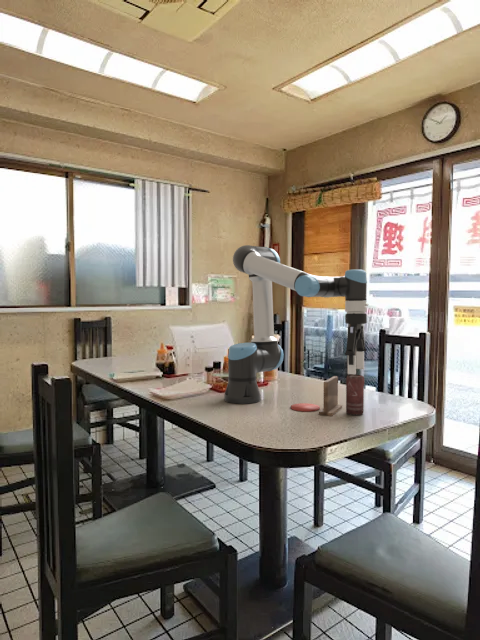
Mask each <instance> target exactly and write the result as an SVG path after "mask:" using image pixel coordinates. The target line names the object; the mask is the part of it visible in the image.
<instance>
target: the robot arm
mask: <svg viewBox="0 0 480 640" xmlns="http://www.w3.org/2000/svg"><path fill="white" fill-rule="evenodd" d="M232 262H233V265H234V268H235V269H236V270H237V271H238V272H241V273H243V274H247V275H248V280H250V281H251V283H252V307H253V332H254V333H253V334H254V337H253V338H252V339H251V341H250V342H243V343H242V342H240V343H235V344H232V345H231V346H230V347H229V348H228V355H227V360H228V361H227V362H228V363H227V365H228V370H227V371H228V372H227V373H228V380H227V381H228V382H227V386H226V388H225V391H224V394H223V395H224V398H223V400H224V401H225V402H226V401H227V402H226V403H231V404H236V405H237V404H238V405H240V404H241V405H243V404H255V403H259V402H260V401H261V399H262V397H261V391H260V388H259V385H258V383H257V374H258V373H263V372H271V371H274V370H277V369H278V368H280V366H281V365H282V364H283V361H284V356H285V355H284V350H283V348H282V347H281V345H279V342H278V339H277V337H275V329H274V328H275V326H274V325H275V322H274V301H273V299H274V298H273V283H275V284H276V285H277V284H278V285H280V286H283V287H286V288H288V289H290V290H292V291H295V292H296V293H297V295H299V296H300V297H305V298H319V297H320V298H338V297H339V298H340V297H344V299H345V300H344V303H345V305H344V312H346V313H345V315H344V319H345V321H344V323H345V324H347V325H350V326H348V327H347V339H346V348H345V352H344V355H345V356H347V375H357V370H364V369H365V352H366V351H367V348H366V343H365V333H364V325H365V324H367V322H368V318H367V317H368V315H367V313H366V312H367V307H368V306H369V303H367V293H368V292H367V289H368V288H367V284H368V281H367V280H368V278H367V271H366V270H364V269H346V270H345V272H344V275H343V276H323V275H314V274H310V273H308V272H305V271H302V270H300V269H297V268H294V267H291V266H288V265H285V264H283V263H281V258H280V256H279V254H278V252H277V251H276V250H275V249H273V248H269V247H267V246H257V245H250V244H249V245H248V244H247V245H242V246H240V247H237V249H236V250H235V251H234V253H233V256H232Z"/></svg>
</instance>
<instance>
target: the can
mask: <svg viewBox="0 0 480 640" xmlns="http://www.w3.org/2000/svg"><path fill="white" fill-rule="evenodd" d="M345 387H346V388H345V392H346V393H345V394H346V395H345V398H346V399H345V400H346V401H345V404H346V405H345V412H346V414H347V415H348V416H356V417H357V416H362V415H363V414H364V407H365V406H364V401H365V400H364V397H365V395H364V391H365V390H364V389H365V388H364V387H365V377H364V376H363V375H361V374H347V376H346V383H345Z"/></svg>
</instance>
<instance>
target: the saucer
mask: <svg viewBox="0 0 480 640" xmlns="http://www.w3.org/2000/svg"><path fill="white" fill-rule="evenodd" d="M320 408H321V407H320V405H318V404H315V403H307V402H306V403H305V402H304V403H303V402H302V403H300V402H299V403H293V404H291V405H290V409H292V410H293V411H296V412H297V411H298V412H302V413H303V412H304V413H305V412H309V413H311V412H317V411H320V410H321V409H320Z"/></svg>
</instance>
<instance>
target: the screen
mask: <svg viewBox="0 0 480 640" xmlns="http://www.w3.org/2000/svg"><path fill="white" fill-rule="evenodd" d="M338 392H339V376H337V375H333V376H332V377H330V378H328V379H326V380H324V381H323V408H321V409H319V410H318V415H320V416H330V417H333V416H335V414H336V413H338V412H339V411H340V410H342V409H343V405H342V404H339V402H338V401H339V400H338V399H339V393H338Z"/></svg>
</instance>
